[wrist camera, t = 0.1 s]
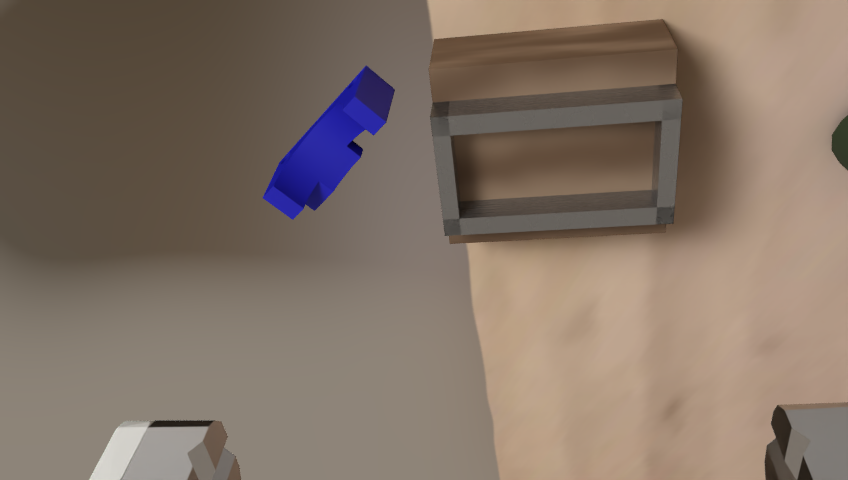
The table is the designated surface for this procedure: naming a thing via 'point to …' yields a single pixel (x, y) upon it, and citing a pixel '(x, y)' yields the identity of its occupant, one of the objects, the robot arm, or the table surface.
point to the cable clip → (330, 145)
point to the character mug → (841, 142)
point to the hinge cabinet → (556, 132)
